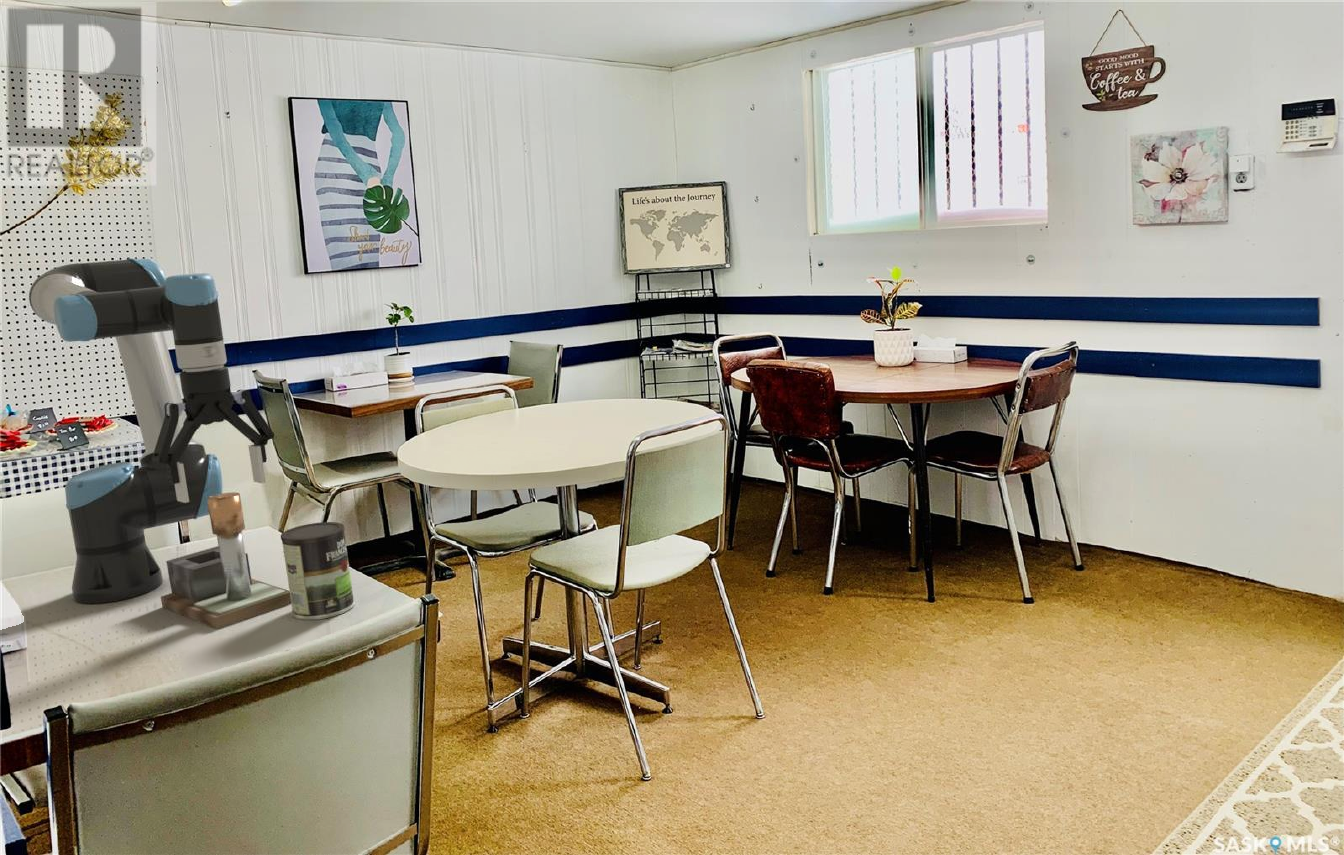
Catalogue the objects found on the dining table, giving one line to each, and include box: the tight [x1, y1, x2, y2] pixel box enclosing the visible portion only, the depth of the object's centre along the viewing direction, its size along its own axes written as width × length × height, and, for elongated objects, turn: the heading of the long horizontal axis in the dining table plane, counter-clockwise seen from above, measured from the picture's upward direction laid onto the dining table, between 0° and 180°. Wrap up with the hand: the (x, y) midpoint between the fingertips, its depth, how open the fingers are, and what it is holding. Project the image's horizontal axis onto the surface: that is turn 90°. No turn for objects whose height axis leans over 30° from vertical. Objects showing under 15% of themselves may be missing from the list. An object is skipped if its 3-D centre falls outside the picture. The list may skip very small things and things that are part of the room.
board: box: [160, 545, 292, 630], centre depth 189 cm, size 20×14×8 cm
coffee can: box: [280, 521, 355, 621], centre depth 183 cm, size 10×10×14 cm
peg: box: [207, 491, 252, 601], centre depth 185 cm, size 5×5×18 cm
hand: (222, 491), depth 183 cm, fingers open, 13 cm apart
